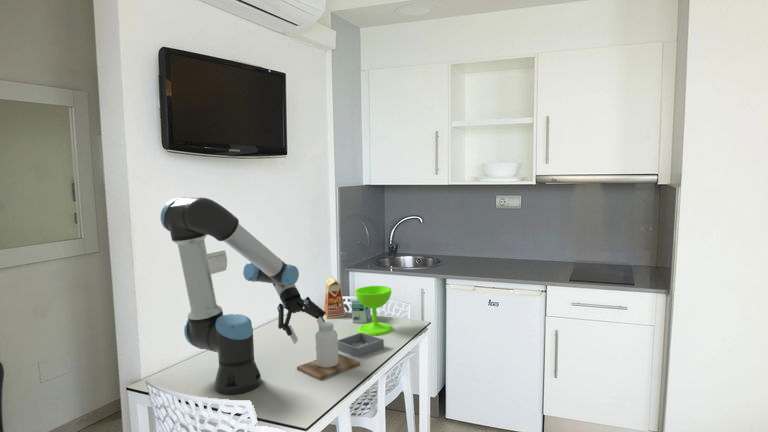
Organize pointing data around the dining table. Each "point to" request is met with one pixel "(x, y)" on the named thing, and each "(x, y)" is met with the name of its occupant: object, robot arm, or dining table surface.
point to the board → (323, 373)
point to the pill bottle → (326, 345)
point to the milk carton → (333, 299)
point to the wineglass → (374, 308)
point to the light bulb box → (360, 312)
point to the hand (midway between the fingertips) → (311, 337)
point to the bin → (371, 346)
